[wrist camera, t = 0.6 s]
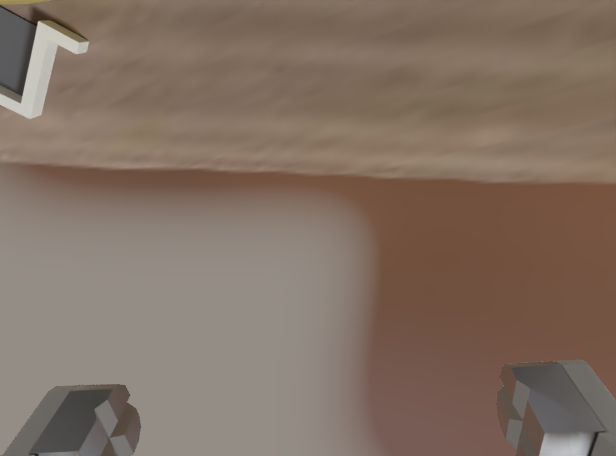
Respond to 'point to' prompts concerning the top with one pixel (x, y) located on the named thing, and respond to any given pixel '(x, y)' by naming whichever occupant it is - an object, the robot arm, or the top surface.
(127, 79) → the top surface
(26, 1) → the cheese
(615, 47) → the top surface
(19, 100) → the frame
